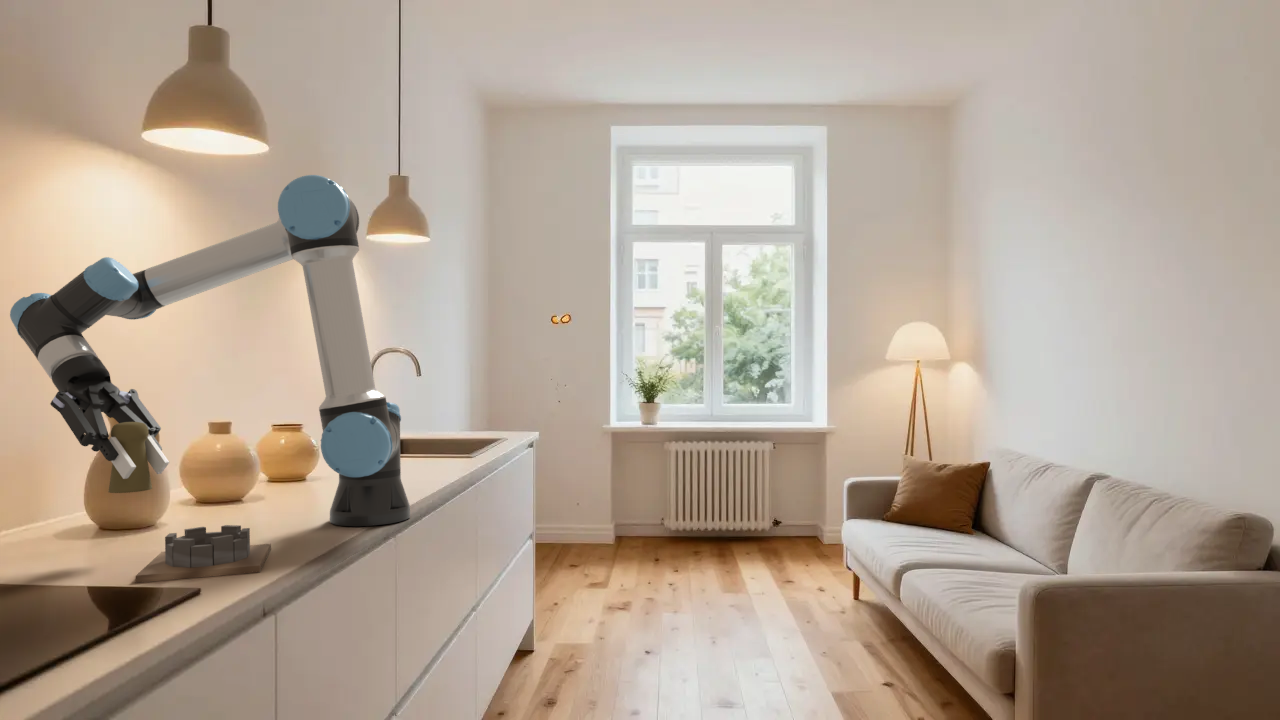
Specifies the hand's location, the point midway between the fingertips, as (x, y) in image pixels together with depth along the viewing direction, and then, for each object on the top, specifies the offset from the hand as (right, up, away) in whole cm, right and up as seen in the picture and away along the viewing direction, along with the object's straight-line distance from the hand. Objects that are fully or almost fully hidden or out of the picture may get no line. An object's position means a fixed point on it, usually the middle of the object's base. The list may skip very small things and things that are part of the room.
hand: (146, 470), depth 131 cm
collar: (+13, -14, -5) cm, 19 cm away
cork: (-3, -4, +1) cm, 5 cm away
